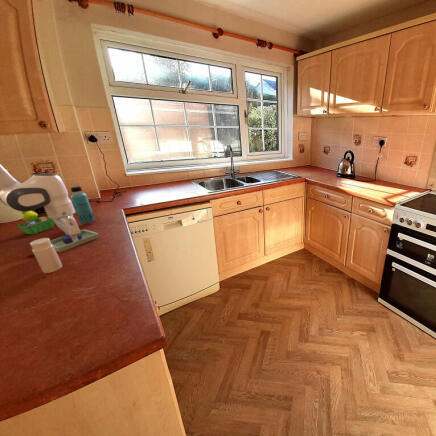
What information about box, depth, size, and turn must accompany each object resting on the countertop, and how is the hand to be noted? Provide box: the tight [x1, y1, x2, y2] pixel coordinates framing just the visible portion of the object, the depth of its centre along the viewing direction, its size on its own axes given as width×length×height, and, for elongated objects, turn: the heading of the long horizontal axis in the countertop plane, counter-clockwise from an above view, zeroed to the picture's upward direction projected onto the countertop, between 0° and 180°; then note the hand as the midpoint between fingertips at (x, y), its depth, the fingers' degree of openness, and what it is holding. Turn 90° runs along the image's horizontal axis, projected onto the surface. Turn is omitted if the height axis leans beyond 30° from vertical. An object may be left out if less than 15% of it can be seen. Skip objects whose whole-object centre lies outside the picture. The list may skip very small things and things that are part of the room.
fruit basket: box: [17, 210, 54, 235], centre depth 120 cm, size 11×9×11 cm
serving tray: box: [50, 228, 100, 253], centre depth 109 cm, size 15×12×2 cm
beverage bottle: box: [70, 185, 96, 224], centre depth 125 cm, size 6×7×20 cm
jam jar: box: [29, 237, 63, 274], centre depth 87 cm, size 5×5×11 cm
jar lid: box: [61, 234, 82, 244], centre depth 108 cm, size 6×6×3 cm
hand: (73, 239), depth 109 cm, fingers closed on jar lid, 6 cm apart
